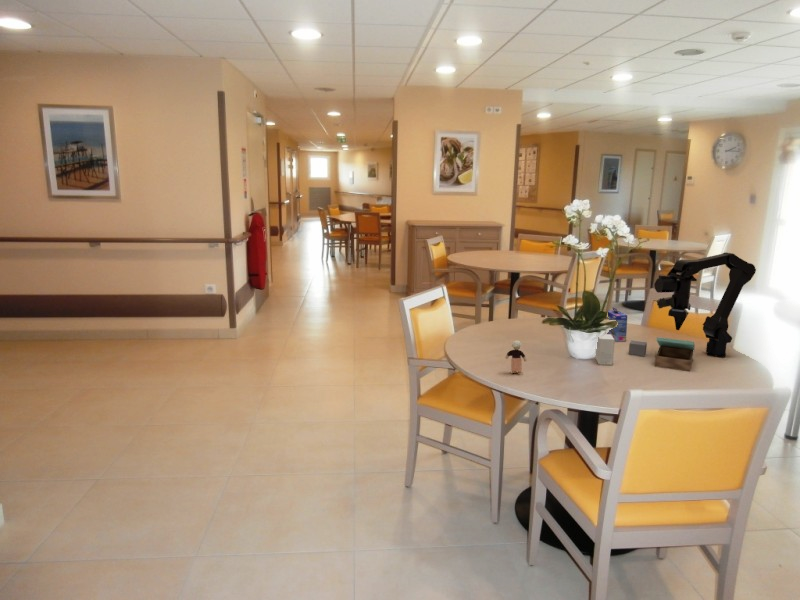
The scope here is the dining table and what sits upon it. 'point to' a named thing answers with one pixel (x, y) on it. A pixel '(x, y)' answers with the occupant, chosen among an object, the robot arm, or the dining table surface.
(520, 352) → the grandmother figurine
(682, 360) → the storage box
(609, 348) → the small box
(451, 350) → the dining table surface
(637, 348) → the block
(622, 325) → the ink cartridge box
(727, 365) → the dining table surface
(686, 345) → the lid
